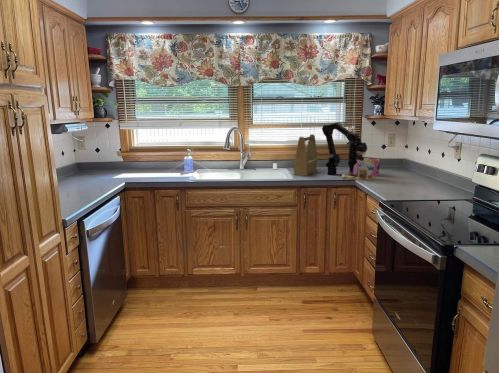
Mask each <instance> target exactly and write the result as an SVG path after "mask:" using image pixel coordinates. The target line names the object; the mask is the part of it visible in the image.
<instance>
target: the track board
mask: <svg viewBox="0 0 499 373" xmlns="http://www.w3.org/2000/svg"><path fill="white" fill-rule="evenodd" d="M341 178H342V180H359V181H374V178H373V176H372V175H368V178H366V177H359V178H358V176H349V173H348V174H347V173H342V175H341Z"/></svg>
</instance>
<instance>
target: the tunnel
mask: <svg viewBox="0 0 499 373" xmlns="http://www.w3.org/2000/svg"><path fill="white" fill-rule="evenodd" d="M360 170H366V172H365V173H366V178H368V168H367V167H362V166H357V173H358V178H359V173H360Z"/></svg>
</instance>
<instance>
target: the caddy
mask: <svg viewBox="0 0 499 373" xmlns="http://www.w3.org/2000/svg"><path fill="white" fill-rule="evenodd" d="M306 141H308V143H307V146H306ZM316 143H317V142H316V136H315V134H310V135H309V136H306V137H304V136H299V137H298V141H297V146H296V152H295V155H294V157H295V158H294V163H293V175H294V176H301V177H306V176H309V175H310V174H313V173H315V172H316V171H317V168H318V152H317V145H316Z"/></svg>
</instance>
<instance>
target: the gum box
mask: <svg viewBox="0 0 499 373" xmlns="http://www.w3.org/2000/svg"><path fill="white" fill-rule="evenodd" d="M363 157H364V160H363V161H361V160H358V159H357V164H355V165H354V174H355V175H357V166H362V167H367V168H368V175H372V177H377V176H379V171H380V163H381V158H378V157H371V156H363ZM347 173H348V174H349V171H348V172H347Z"/></svg>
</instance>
